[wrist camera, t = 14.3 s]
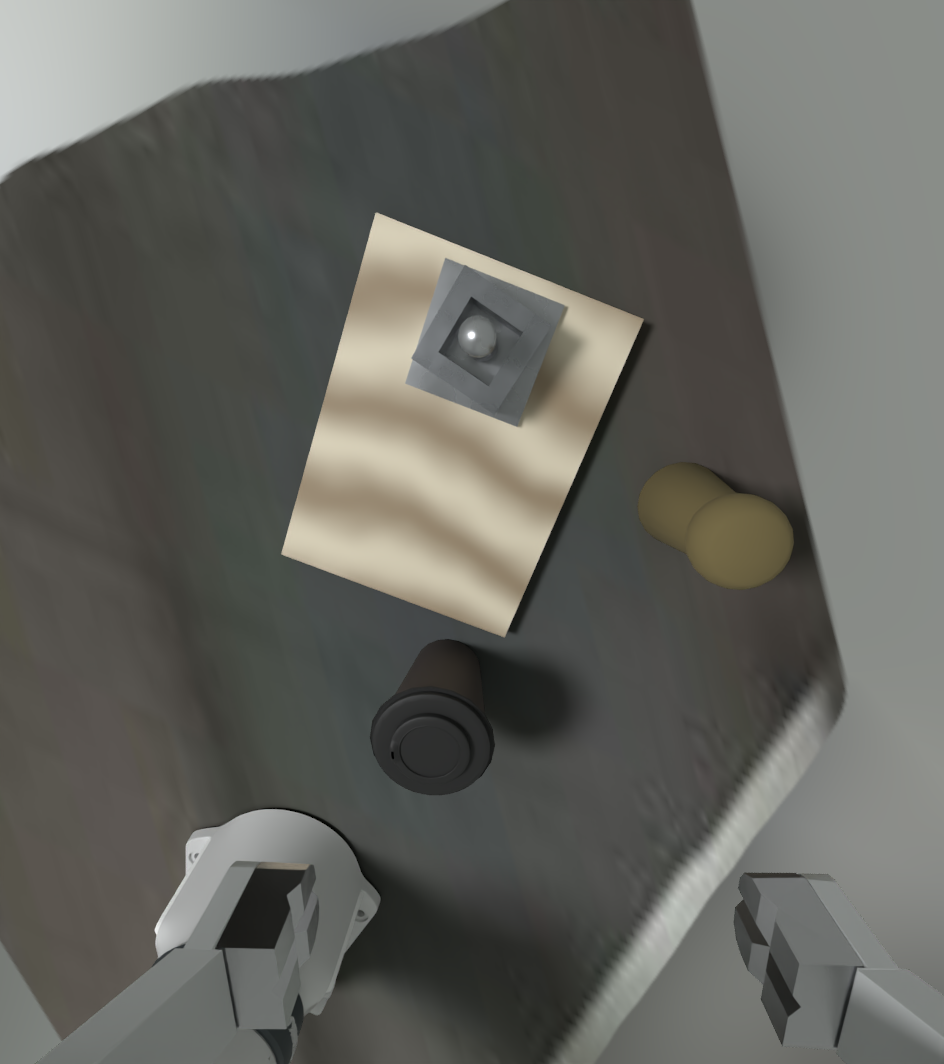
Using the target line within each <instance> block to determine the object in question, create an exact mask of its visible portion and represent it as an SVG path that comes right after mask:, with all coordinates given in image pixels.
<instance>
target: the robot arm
mask: <svg viewBox="0 0 944 1064" xmlns="http://www.w3.org/2000/svg"><path fill="white" fill-rule="evenodd" d="M738 888H739V891H740V893H741V895H742V897H743V900H742V901H741V902H740V903H739V904H738V905H737V906H736V907H735V914H734V927H735V934H736V940H737V943H738V947H739V950H740V953H741V956H742V958H743V960H744V962H745V965H746V967H747V969H748V971H749V972H750V973H751V974H752V975H754V976H755V977H756V978H757V979H758V980H759V981H760V982H761V983H762V984H763V990H762V996H761V1001H762V1003H763V1005H764V1007H765V1009H766V1011H767V1013H768V1016H769V1018H770V1020H771V1022H772V1025H773V1027H774V1029H775V1031H776V1033H777V1035H778V1038H779V1040H780V1042H781V1044H782V1046H785V1047H800V1048H815V1049H829V1050H837V1052H836V1054H837V1055H838V1056H839V1057H840V1058H841V1059H842V1060H843V1061H844V1062H845V1063H846V1064H944V995H943V994H941V993H940V992H939V991H937V990H936V989H935V988H933V987H932V986H930V985H929V984H928V983H926V982H925V981H924V980H922V979H921V978H920V977H918V976H917V975H916V974H914V973H913V972H912V971H910V970H908V969H899V967H898V966H897V965H896V963H895V962H894V960H893V959H892V958H891V957H890V955H889V954H888V952H887V951H886V950H885V948H884V947H883V945H882V944H881V943H880V941H879V940H878V939H877V937H876V936H875V934H874V933H873V932H872V930H871V929H870V927H869V926H868V925H867V923H866V922H865V921H864V919H863V918H862V916H861V915H860V914H859V912H858V911H857V909H856V908H855V907H854V905H853V904H852V903H851V901H850V900H849V898H848V897H847V896H846V894H845V893H844V892H843V890H842V889H841V887H840V886H839V885H838V883H837V882H836V881H835V879H833V878H832V877H831V876H829V875H828V874H796V873H744V874H743V875H742V876H741V877H740V881H739V887H738ZM380 901H381V898H380V895H379V894H378V892H377V891H376V890H375V888H374V887H373V886H372V885H371V884H370V883H369V882H368V881H367V880H366V879H365V878H364V876H363V875H362V872H361V870H360V867H359V865H358V862H357V859H356V857H355V855H354V853H353V852H352V850H351V849H350V847H349V846H348V845H347V843H346V842H345V841H344V840H343V839H342V838H341V837H340V836H339V835H338V834H337V833H336V832H335V831H333V830H332V829H331V828H329V827H328V826H326V825H325V824H323V823H321V822H320V821H318V820H316V819H314V818H311V817H309V816H306V815H303V814H300V813H297V812H293V811H288V810H279V809H264V810H257V811H252V812H248V813H245V814H243V815H240V816H238V817H236V818H234V819H233V820H231V821H230V822H228V823H226V824H224V825H222V826H220V827H212V828H205V829H200V830H197V831H195V832H193V833H192V835H191V837H190V838H189V840H188V842H187V844H186V876H185V878H184V879H183V881H182V883H181V884H180V886H179V888H178V889H177V891H176V893H175V894H174V896H173V897H172V899H171V901H170V902H169V904H168V906H167V907H166V909H165V911H164V912H163V914H162V916H161V917H160V919H159V921H158V923H157V925H156V928H155V933H156V934H157V936H156V950H157V954H158V959H157V960H156V961H155V963H154V964H153V966H152V967H151V969H149V970H148V971H147V972H146V973H145V974H143V975H142V976H141V977H140V978H139V979H137V980H136V981H135V982H134V983H132V984H131V985H130V986H129V987H128V988H126V989H125V990H124V991H123V992H121V993H120V994H119V995H118V996H117V997H115V998H114V999H113V1000H112V1001H111V1002H109V1003H108V1004H107V1005H106V1006H104V1007H103V1008H102V1009H101V1010H100V1011H98V1012H97V1013H96V1014H95V1015H93V1016H92V1017H91V1018H90V1019H89V1020H87V1021H86V1022H85V1023H84V1024H83V1025H81V1026H80V1027H79V1028H78V1029H76V1030H75V1031H74V1032H73V1033H72V1034H70V1035H69V1036H68V1037H67V1038H65V1039H64V1040H63V1041H62V1042H61V1043H59V1044H58V1045H57V1046H56V1047H55V1048H54V1049H52V1050H51V1051H50V1052H48V1053H47V1054H46V1055H45V1056H44V1057H42V1058H41V1059H40V1060H39V1061H37V1062H36V1063H35V1064H290V1063H291V1061H292V1058H293V1055H294V1052H295V1049H296V1045H297V1040H298V1036H299V1033H300V1030H301V1027H302V1023H303V1018H304V1016H305V1015H306V1014H307V1013H309V1012H310V1013H312V1014H315V1015H320V1014H321V1012H322V1010H323V1008H324V1006H325V1004H326V1002H327V999H329V997H330V996H331V994H332V991H333V989H334V986H335V982H336V977H337V974H338V971H339V968H340V965H341V962H342V959H343V956H344V953H345V952H346V951H347V950H348V948H349V947H350V946H351V944H352V943H353V942H354V941H355V939H356V938H357V937H358V935H359V934H360V933H361V932H362V930H363V929H364V928H365V926H366V925H367V924H368V923H369V921H370V920H371V919H372V917H373V916H374V915H375V914H376V912H377V910H378V907H379V904H380Z"/></svg>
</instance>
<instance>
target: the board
mask: <svg viewBox="0 0 944 1064" xmlns="http://www.w3.org/2000/svg"><path fill="white" fill-rule="evenodd" d="M445 258H447V259H450V260H452V261H455V262H457V263H460V264H462V265H466V266H468V267H470V268H472V269H475V270H477V271H480V272H483V273H485V274H488V275H490V276H493V277H495V278H498V279H500V280H503V281H505V282H508V283H510V284H513V285H515V286H518V287H520V288H523V289H525V290H528V291H530V292H533V293H535V294H538V295H540V296H543V297H545V298H548V299H550V300H553V301H555V302H558V303H561V304H563V305H565V306H564V309H563V311H562V314H561V316H560V319H559V321H558V324H557V326H556V329H555V332H554V334H553V337H552V339H551V342H550V344H549V347H548V349H547V352H546V355H545V357H544V360H543V362H542V365H541V367H540V370H539V372H538V375H537V377H536V380H535V383H534V385H533V388H532V390H531V393H530V395H529V398H528V400H527V403H526V406H525V408H524V411H523V413H522V416H521V418H520V421H519V423H518V426H517V427H516V426H513V425H511V424H508V423H506V422H503V421H500V420H498V419H495V418H493V417H490V416H488V415H485V414H482V413H480V412H477V411H475V410H472V409H469V408H467V407H464V406H462V405H459V404H457V403H454V402H451V401H449V400H446V399H444V398H441V397H439V396H436V395H433V394H431V393H428V392H426V391H423V390H420V389H418V388H415V387H413V386H410V385H408V384H405V382H406V379H407V376H408V373H409V370H410V366H411V363H412V360H413V359H411V357H412V356H413V354H414V352H415V350H416V348H417V345H418V341H419V338H420V335H421V332H422V329H423V326H424V323H425V320H426V316H427V313H428V310H429V307H430V304H431V301H432V298H433V294H434V291H435V288H436V285H437V282H438V279H439V276H440V273H441V269H442V266H443V263H444V260H445ZM643 320H644V319H642V318H639V317H637V316H634V315H632V314H629V313H627V312H624V311H622V310H619V309H617V308H614V307H612V306H609V305H607V304H604V303H602V302H599V301H597V300H594V299H592V298H589V297H587V296H584V295H582V294H579V293H577V292H574V291H572V290H569V289H567V288H564V287H562V286H559V285H557V284H554V283H552V282H549V281H547V280H544V279H542V278H539V277H537V276H534V275H532V274H529V273H527V272H524V271H522V270H519V269H517V268H514V267H511V266H509V265H506V264H504V263H501V262H499V261H496V260H494V259H491V258H489V257H486V256H484V255H481V254H479V253H476V252H474V251H471V250H469V249H466V248H464V247H461V246H459V245H456V244H454V243H451V242H449V241H446V240H444V239H441V238H439V237H436V236H434V235H431V234H429V233H426V232H424V231H421V230H419V229H416V228H414V227H411V226H409V225H406V224H404V223H401V222H399V221H396V220H394V219H391V218H389V217H386V216H384V215H381V214H379V213H376V214H375V218H374V221H373V225H372V228H371V232H370V236H369V239H368V243H367V246H366V250H365V254H364V257H363V261H362V265H361V268H360V272H359V275H358V279H357V283H356V286H355V290H354V293H353V297H352V301H351V304H350V308H349V312H348V315H347V319H346V322H345V326H344V330H343V333H342V337H341V340H340V344H339V348H338V351H337V355H336V359H335V362H334V366H333V369H332V373H331V377H330V380H329V384H328V388H327V391H326V395H325V398H324V402H323V406H322V409H321V413H320V416H319V420H318V424H317V427H316V431H315V435H314V438H313V442H312V445H311V449H310V453H309V456H308V460H307V463H306V467H305V471H304V474H303V478H302V482H301V485H300V489H299V492H298V496H297V500H296V503H295V507H294V510H293V514H292V518H291V521H290V525H289V529H288V532H287V536H286V539H285V543H284V547H283V550H282V555H285V556H287V557H290V558H293V559H295V560H298V561H301V562H303V563H306V564H309V565H312V566H314V567H317V568H320V569H322V570H325V571H328V572H330V573H333V574H336V575H338V576H341V577H344V578H346V579H349V580H352V581H354V582H357V583H360V584H363V585H365V586H368V587H371V588H373V589H376V590H379V591H381V592H384V593H387V594H389V595H392V596H395V597H397V598H400V599H403V600H406V601H408V602H411V603H414V604H416V605H419V606H422V607H424V608H427V609H430V610H432V611H435V612H438V613H440V614H443V615H446V616H448V617H451V618H454V619H457V620H459V621H462V622H465V623H467V624H470V625H473V626H475V627H478V628H481V629H483V630H486V631H489V632H491V633H494V634H497V635H500V636H502V637H505V635H506V633H507V631H508V628H509V626H510V624H511V622H512V619H513V617H514V615H515V612H516V610H517V608H518V606H519V603H520V601H521V599H522V596H523V594H524V592H525V590H526V587H527V585H528V583H529V580H530V578H531V576H532V574H533V571H534V569H535V567H536V565H537V562H538V560H539V558H540V555H541V553H542V551H543V549H544V546H545V544H546V542H547V539H548V537H549V535H550V533H551V530H552V528H553V526H554V523H555V521H556V519H557V517H558V514H559V512H560V510H561V507H562V505H563V503H564V501H565V498H566V496H567V494H568V492H569V489H570V487H571V485H572V482H573V480H574V478H575V476H576V473H577V471H578V469H579V466H580V464H581V462H582V460H583V457H584V455H585V453H586V450H587V448H588V446H589V444H590V441H591V439H592V437H593V434H594V432H595V430H596V428H597V425H598V423H599V421H600V418H601V416H602V414H603V412H604V409H605V407H606V405H607V403H608V400H609V398H610V396H611V393H612V391H613V389H614V387H615V384H616V382H617V380H618V377H619V375H620V373H621V371H622V368H623V366H624V364H625V361H626V359H627V357H628V355H629V352H630V350H631V348H632V345H633V343H634V341H635V339H636V336H637V334H638V332H639V330H640V327H641V325H642V323H643Z"/></svg>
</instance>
